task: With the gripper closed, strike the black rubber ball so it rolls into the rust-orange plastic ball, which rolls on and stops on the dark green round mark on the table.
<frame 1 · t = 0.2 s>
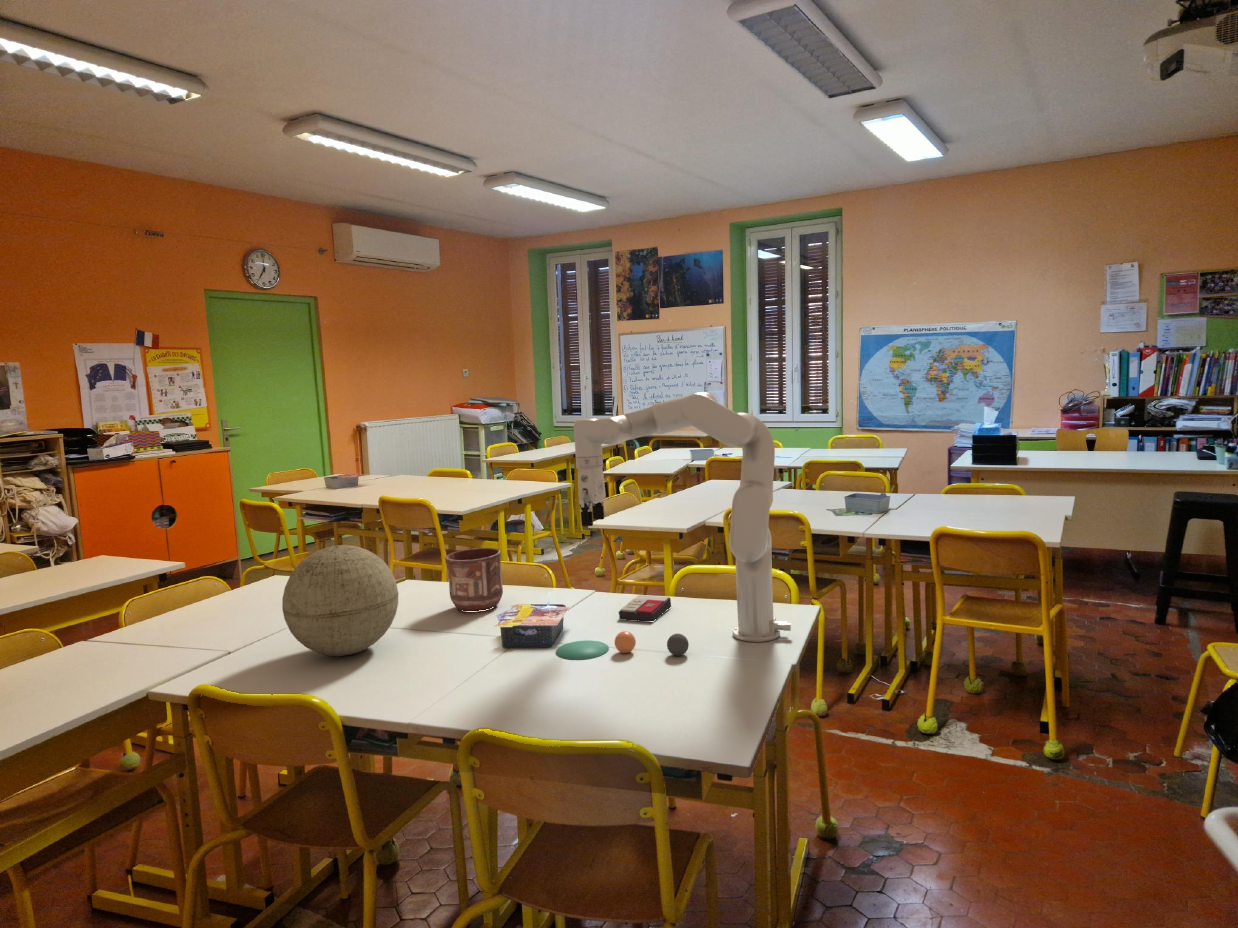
hand: (593, 522, 214), 31 cm above the table, tool pointing down, fingers open, 9 cm apart
ball A: (677, 644, 191), on the table
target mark: (582, 650, 200), on the table
calculator: (645, 615, 229), on the table
pottery: (477, 608, 246), on the table
celestial globe: (347, 653, 209), on the table
ball B: (625, 642, 196), on the table
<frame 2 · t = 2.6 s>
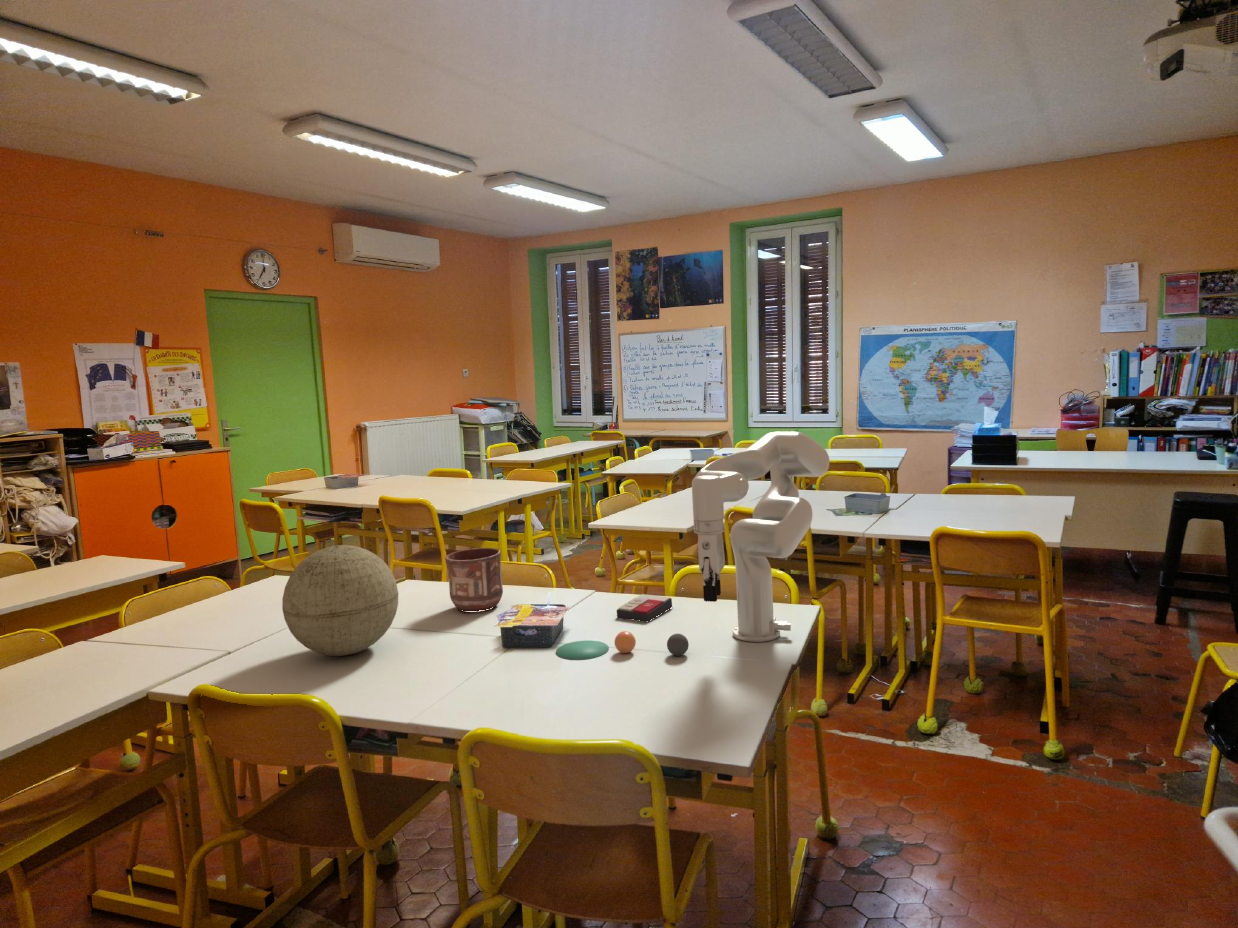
hand: (712, 597, 187), 15 cm above the table, tool pointing down, fingers open, 4 cm apart
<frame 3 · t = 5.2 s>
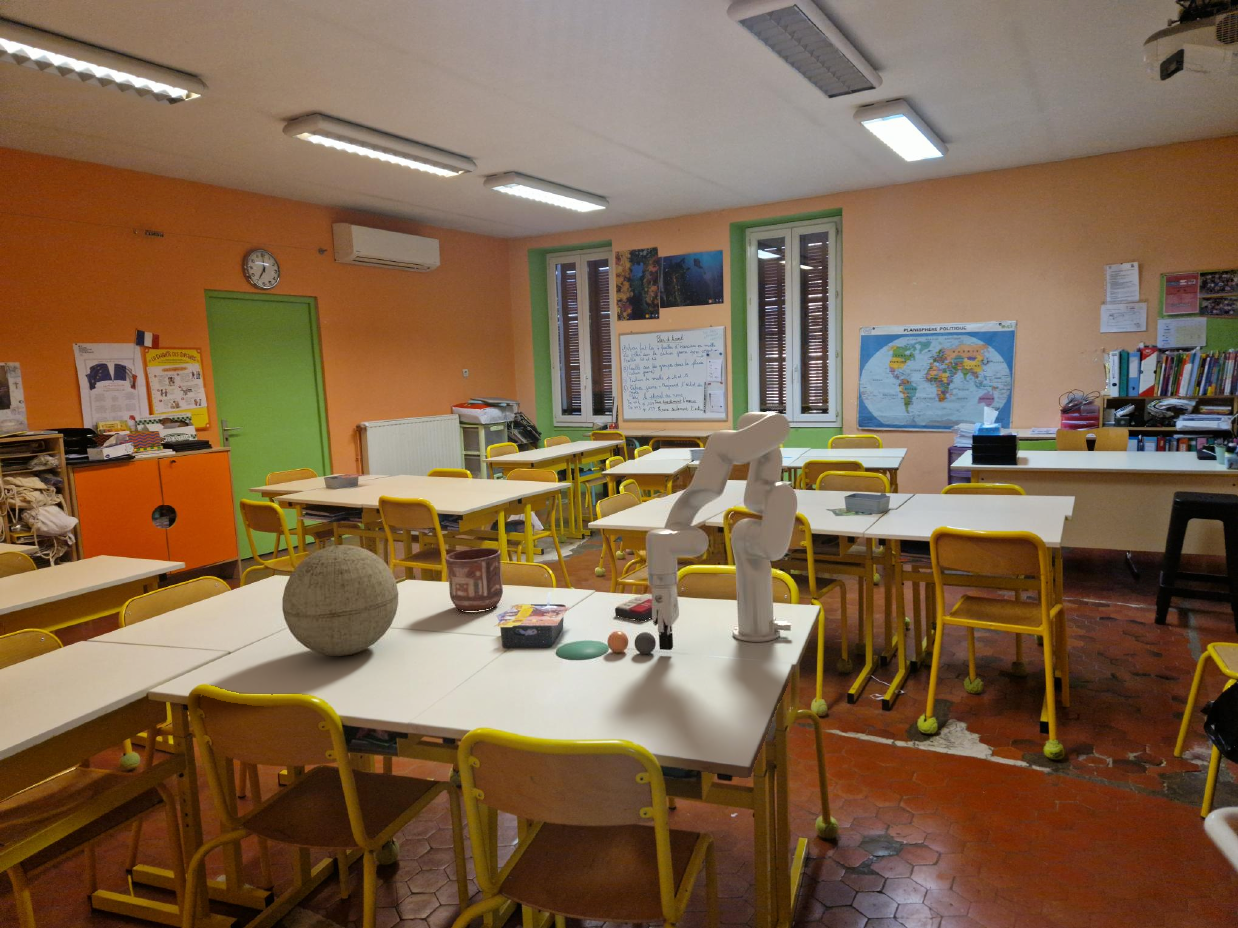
hand: (666, 648, 192), 2 cm above the table, tool pointing down, fingers closed
ball A: (645, 643, 194), on the table
ball B: (617, 641, 196), on the table
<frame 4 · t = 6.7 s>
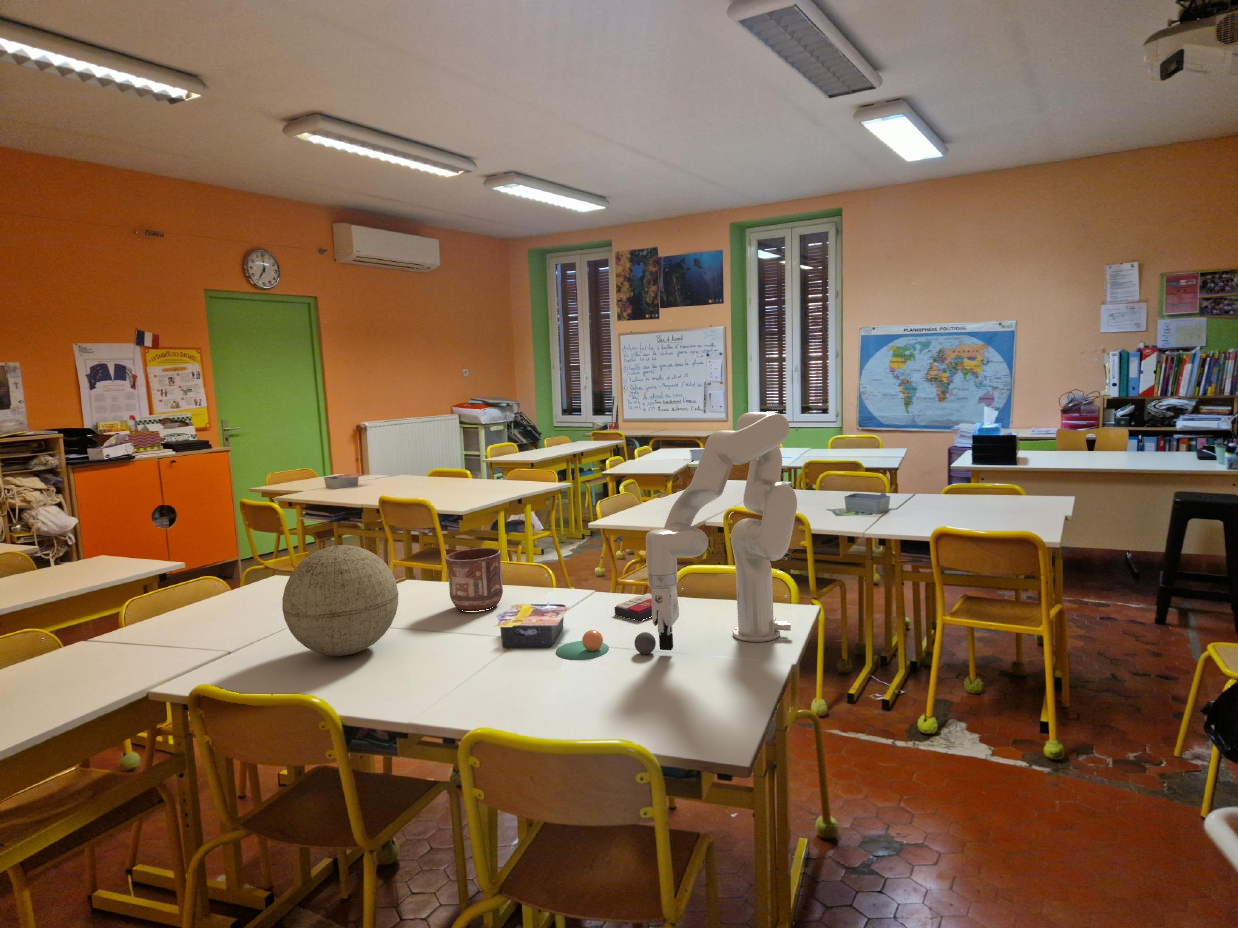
hand: (666, 648, 193), 2 cm above the table, tool pointing down, fingers closed
ball B: (592, 640, 198), on the table
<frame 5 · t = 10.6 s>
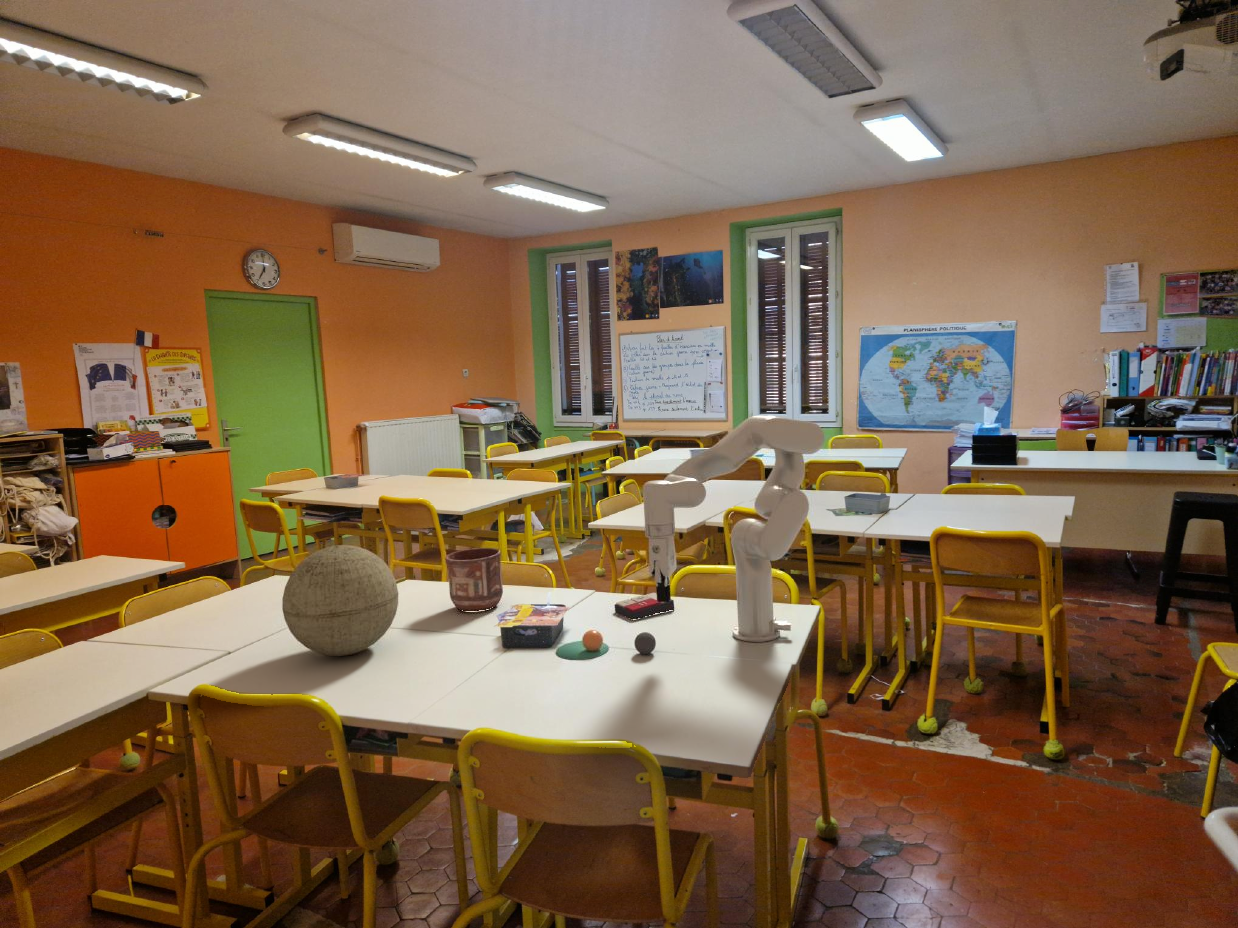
hand: (663, 600, 191), 14 cm above the table, tool pointing down, fingers closed
at the end: ball B 3.0 cm from the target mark (horizontally); ball B never touched the robot; ball A first touched ball B at 5.0 s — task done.
